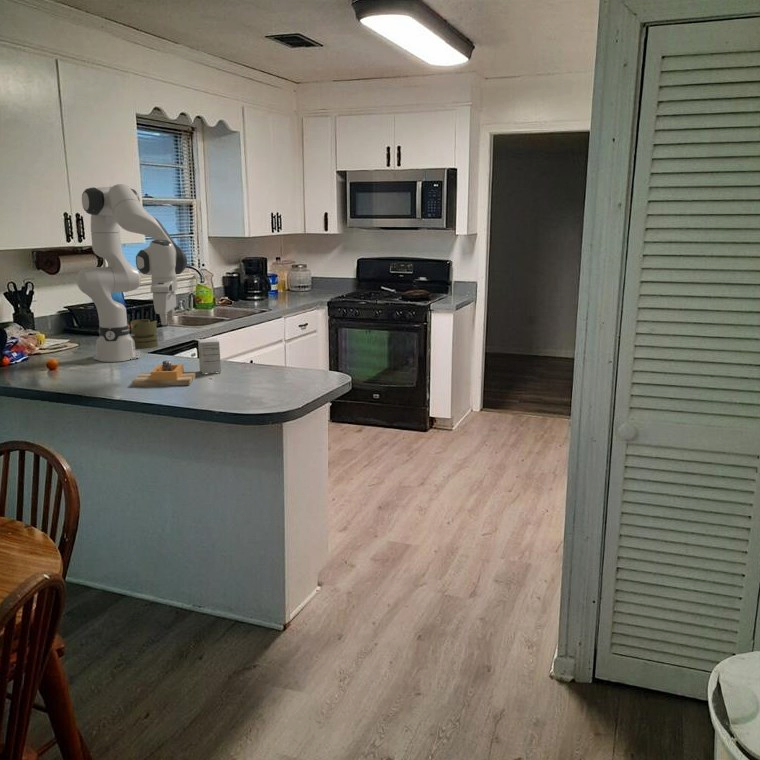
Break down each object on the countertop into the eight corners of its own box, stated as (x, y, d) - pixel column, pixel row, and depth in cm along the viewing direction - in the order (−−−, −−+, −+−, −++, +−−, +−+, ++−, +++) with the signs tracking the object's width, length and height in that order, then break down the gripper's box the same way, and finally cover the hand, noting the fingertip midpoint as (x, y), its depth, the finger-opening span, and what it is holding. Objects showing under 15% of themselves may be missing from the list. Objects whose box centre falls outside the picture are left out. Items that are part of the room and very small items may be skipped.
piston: (138, 323, 321) (125, 321, 328) (141, 349, 324) (127, 346, 331) (160, 320, 329) (147, 318, 336) (162, 346, 332) (149, 343, 339)
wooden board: (142, 378, 267) (141, 372, 267) (196, 376, 269) (196, 371, 268) (132, 386, 253) (132, 381, 253) (189, 385, 255) (189, 380, 254)
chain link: (159, 372, 267) (158, 364, 266) (183, 372, 268) (183, 364, 267) (151, 380, 254) (150, 372, 253) (176, 379, 255) (176, 371, 254)
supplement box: (199, 371, 279) (197, 339, 276) (218, 369, 281) (216, 338, 278) (201, 374, 272) (199, 342, 269) (221, 373, 274) (219, 341, 272)
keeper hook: (164, 375, 262) (163, 360, 261) (172, 375, 262) (171, 359, 261) (161, 378, 258) (160, 362, 256) (170, 378, 258) (169, 362, 256)
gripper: (162, 282, 269) (164, 319, 272) (149, 288, 249) (152, 327, 252) (179, 282, 269) (181, 318, 272) (167, 288, 249) (170, 327, 252)
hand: (167, 322), depth 262 cm, fingers open, 8 cm apart
